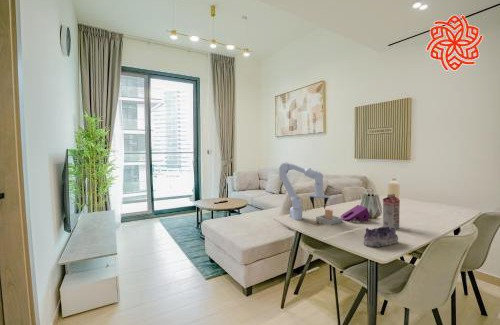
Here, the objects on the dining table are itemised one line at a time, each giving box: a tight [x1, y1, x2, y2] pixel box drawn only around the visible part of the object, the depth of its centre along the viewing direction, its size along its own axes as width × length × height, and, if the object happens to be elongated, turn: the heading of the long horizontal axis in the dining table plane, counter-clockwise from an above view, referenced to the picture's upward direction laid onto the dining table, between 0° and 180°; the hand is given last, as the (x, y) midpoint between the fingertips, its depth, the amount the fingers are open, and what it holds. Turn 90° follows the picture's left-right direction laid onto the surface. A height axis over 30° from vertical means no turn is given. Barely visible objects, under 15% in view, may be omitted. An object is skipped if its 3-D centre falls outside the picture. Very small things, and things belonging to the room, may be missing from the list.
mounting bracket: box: [340, 204, 371, 223], centre depth 171 cm, size 10×9×19 cm
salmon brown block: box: [324, 208, 334, 220], centre depth 168 cm, size 5×5×8 cm
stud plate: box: [309, 218, 327, 227], centre depth 163 cm, size 9×9×4 cm
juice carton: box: [382, 193, 401, 230], centre depth 154 cm, size 7×7×22 cm
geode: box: [363, 225, 399, 248], centre depth 130 cm, size 20×12×10 cm, turn 113°
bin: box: [315, 214, 343, 226], centre depth 168 cm, size 13×12×4 cm
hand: (319, 207), depth 170 cm, fingers open, 7 cm apart
